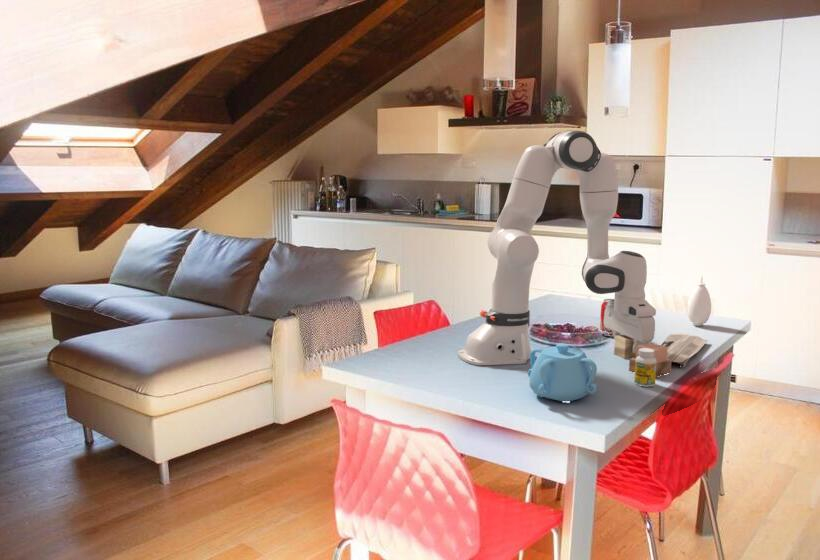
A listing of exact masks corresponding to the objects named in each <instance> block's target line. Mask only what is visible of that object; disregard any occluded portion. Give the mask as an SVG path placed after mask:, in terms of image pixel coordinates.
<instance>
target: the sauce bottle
mask: <svg viewBox="0 0 820 560" xmlns="http://www.w3.org/2000/svg"><path fill="white" fill-rule="evenodd" d="M711 299H712V298H711V296H710V293H709V290H708V288H707V287H706V284H705V283H704V282H703V276H701V278H700V282H698V283H697V284H696V286H695V287H694V289H693V290H692V292H691V294H690V297H689V299H688V301H687V315H688V319H689V321H690V323H692V325H694V326H695V327H701V326H704V324H706V323H707V322H708V321H709V319H710V317H711V313H712V301H711Z"/></svg>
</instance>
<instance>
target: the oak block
mask: <svg viewBox="0 0 820 560" xmlns="http://www.w3.org/2000/svg"><path fill="white" fill-rule="evenodd" d="M634 343H635V342H633V338H630V337H628V336H625V335H623V334H620V335H617V336H615V339H614V351H613V355H614V356H616V357H619V358H621V359H624V360H626V359H627V358H628V359H631V358H635V357H636V353H633V352H631V346H633V345H634ZM628 359H627V360H628Z"/></svg>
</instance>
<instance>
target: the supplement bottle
mask: <svg viewBox="0 0 820 560" xmlns="http://www.w3.org/2000/svg"><path fill="white" fill-rule="evenodd" d="M638 354H639V356H638V357H637V358H636V360H635V373H634V380H633V383H634V384H635V385H636V384H637V385H641V386H653V387H655V385H656V359H655V358H654V357H653V356H654V350H652V349H648V348H641V349H639V352H638ZM637 385H636V386H637ZM641 386H640V387H641Z"/></svg>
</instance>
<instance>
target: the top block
mask: <svg viewBox="0 0 820 560" xmlns="http://www.w3.org/2000/svg"><path fill="white" fill-rule="evenodd" d="M641 348H648V349H652V350H654V356H653V357H654V358H655V359H656V364H658V363H661V362H665V361H667V350H668V347H665V346H661V344H657V343H653V342H644V343H641V345H638V346H637V349H636V358H637V357H638V356H639V354H638V352H639V349H641Z"/></svg>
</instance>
